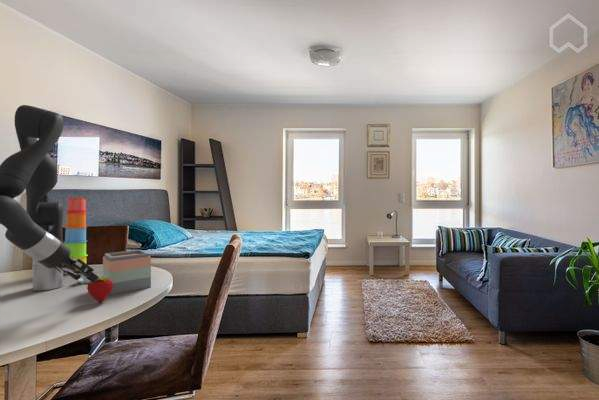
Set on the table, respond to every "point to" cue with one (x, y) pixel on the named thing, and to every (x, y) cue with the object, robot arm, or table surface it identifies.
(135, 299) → the table surface
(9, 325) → the table surface
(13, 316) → the table surface
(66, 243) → the stacking cups
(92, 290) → the strawberry
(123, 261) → the pastel striped block
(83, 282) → the pacifier
